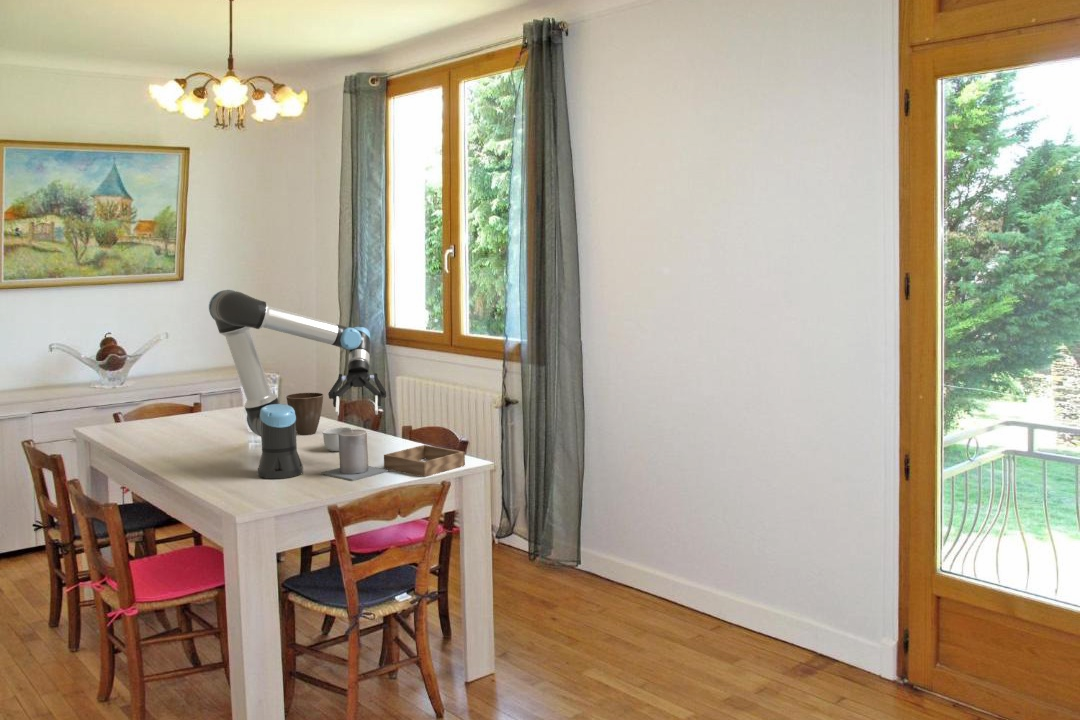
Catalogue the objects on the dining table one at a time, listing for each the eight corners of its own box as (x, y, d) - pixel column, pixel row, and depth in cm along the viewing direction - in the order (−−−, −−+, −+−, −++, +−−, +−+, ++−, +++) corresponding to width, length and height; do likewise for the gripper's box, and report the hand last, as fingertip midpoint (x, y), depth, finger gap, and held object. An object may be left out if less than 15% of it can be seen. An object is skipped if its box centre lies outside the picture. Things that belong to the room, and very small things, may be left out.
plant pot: (280, 434, 411) (278, 396, 409) (308, 428, 423) (306, 391, 421) (304, 438, 402) (303, 399, 400) (332, 432, 414) (330, 394, 412)
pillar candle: (350, 466, 350) (347, 424, 348) (373, 468, 346) (372, 426, 344) (334, 473, 341) (332, 430, 339) (358, 475, 337) (356, 432, 335)
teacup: (345, 453, 374) (344, 432, 373) (318, 452, 376) (317, 431, 375) (359, 445, 387) (358, 425, 386) (333, 444, 390) (332, 424, 388)
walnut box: (424, 477, 337) (424, 462, 336) (384, 468, 349) (383, 454, 348) (465, 465, 352) (464, 451, 351) (424, 458, 364) (424, 444, 364)
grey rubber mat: (352, 480, 332) (352, 479, 332) (321, 474, 342) (321, 472, 342) (387, 471, 345) (387, 469, 345) (356, 465, 355) (356, 463, 355)
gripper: (394, 370, 366) (393, 418, 353) (325, 371, 363) (321, 420, 351) (392, 357, 360) (392, 406, 347) (322, 359, 357) (319, 408, 345)
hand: (356, 413), depth 349 cm, fingers open, 13 cm apart
